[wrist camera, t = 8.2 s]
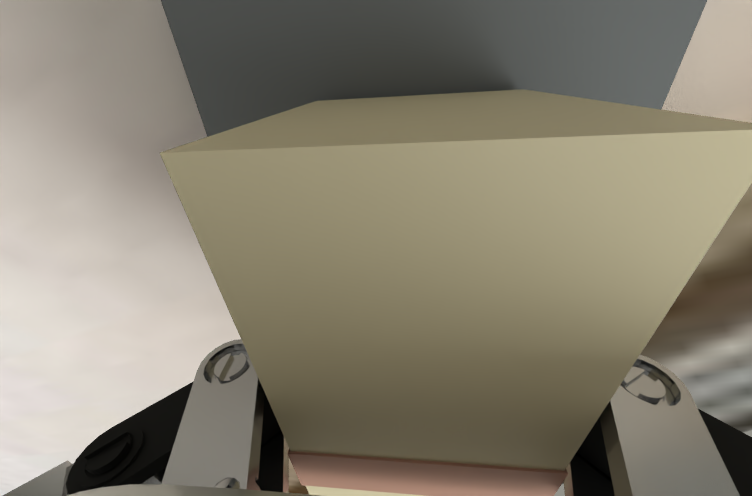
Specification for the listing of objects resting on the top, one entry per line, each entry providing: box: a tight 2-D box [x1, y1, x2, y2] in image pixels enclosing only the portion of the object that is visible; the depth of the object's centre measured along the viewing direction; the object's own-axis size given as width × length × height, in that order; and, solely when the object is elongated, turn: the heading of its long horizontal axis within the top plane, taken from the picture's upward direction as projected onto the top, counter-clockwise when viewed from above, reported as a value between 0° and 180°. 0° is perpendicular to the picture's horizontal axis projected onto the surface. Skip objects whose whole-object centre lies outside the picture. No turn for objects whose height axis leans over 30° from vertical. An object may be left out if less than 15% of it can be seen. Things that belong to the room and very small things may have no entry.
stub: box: [160, 89, 752, 496], centre depth 7 cm, size 9×6×6 cm, turn 3°
